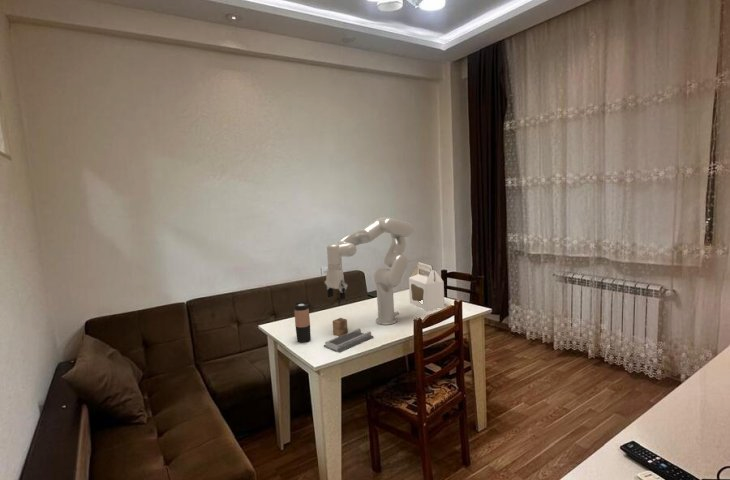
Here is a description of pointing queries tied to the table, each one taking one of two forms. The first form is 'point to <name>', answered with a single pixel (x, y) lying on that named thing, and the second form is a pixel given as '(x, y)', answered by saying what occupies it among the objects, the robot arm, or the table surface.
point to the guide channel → (348, 340)
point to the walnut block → (340, 327)
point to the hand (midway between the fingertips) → (336, 298)
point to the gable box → (426, 288)
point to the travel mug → (302, 322)
